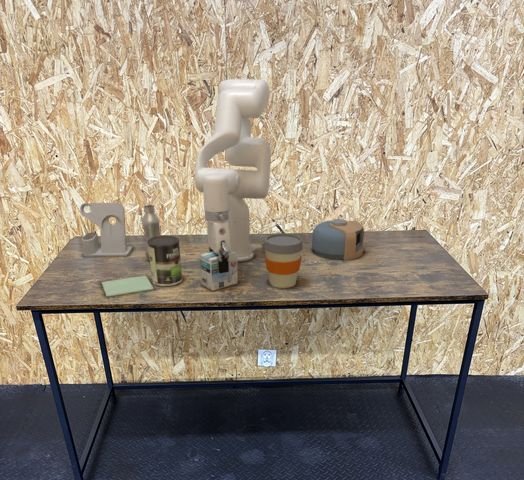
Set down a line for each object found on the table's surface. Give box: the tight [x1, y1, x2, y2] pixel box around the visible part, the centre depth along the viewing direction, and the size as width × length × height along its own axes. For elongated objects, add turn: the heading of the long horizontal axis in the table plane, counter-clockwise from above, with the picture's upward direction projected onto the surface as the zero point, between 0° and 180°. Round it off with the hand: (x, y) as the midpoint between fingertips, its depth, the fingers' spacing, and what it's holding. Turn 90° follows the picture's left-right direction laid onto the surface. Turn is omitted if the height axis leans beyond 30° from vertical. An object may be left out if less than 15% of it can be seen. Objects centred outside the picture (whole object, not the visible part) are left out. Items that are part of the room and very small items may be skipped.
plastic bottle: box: [141, 204, 161, 262], centre depth 181 cm, size 6×7×20 cm
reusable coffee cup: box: [263, 233, 304, 289], centre depth 164 cm, size 13×13×15 cm
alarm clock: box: [311, 218, 365, 261], centre depth 191 cm, size 19×20×12 cm
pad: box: [101, 275, 155, 298], centre depth 164 cm, size 15×12×1 cm
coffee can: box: [147, 235, 183, 287], centre depth 165 cm, size 10×10×14 cm
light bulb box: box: [199, 250, 238, 292], centre depth 164 cm, size 11×7×11 cm, turn 129°
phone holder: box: [79, 202, 133, 258], centre depth 189 cm, size 17×10×18 cm, turn 91°
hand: (219, 267), depth 163 cm, fingers open, 9 cm apart
